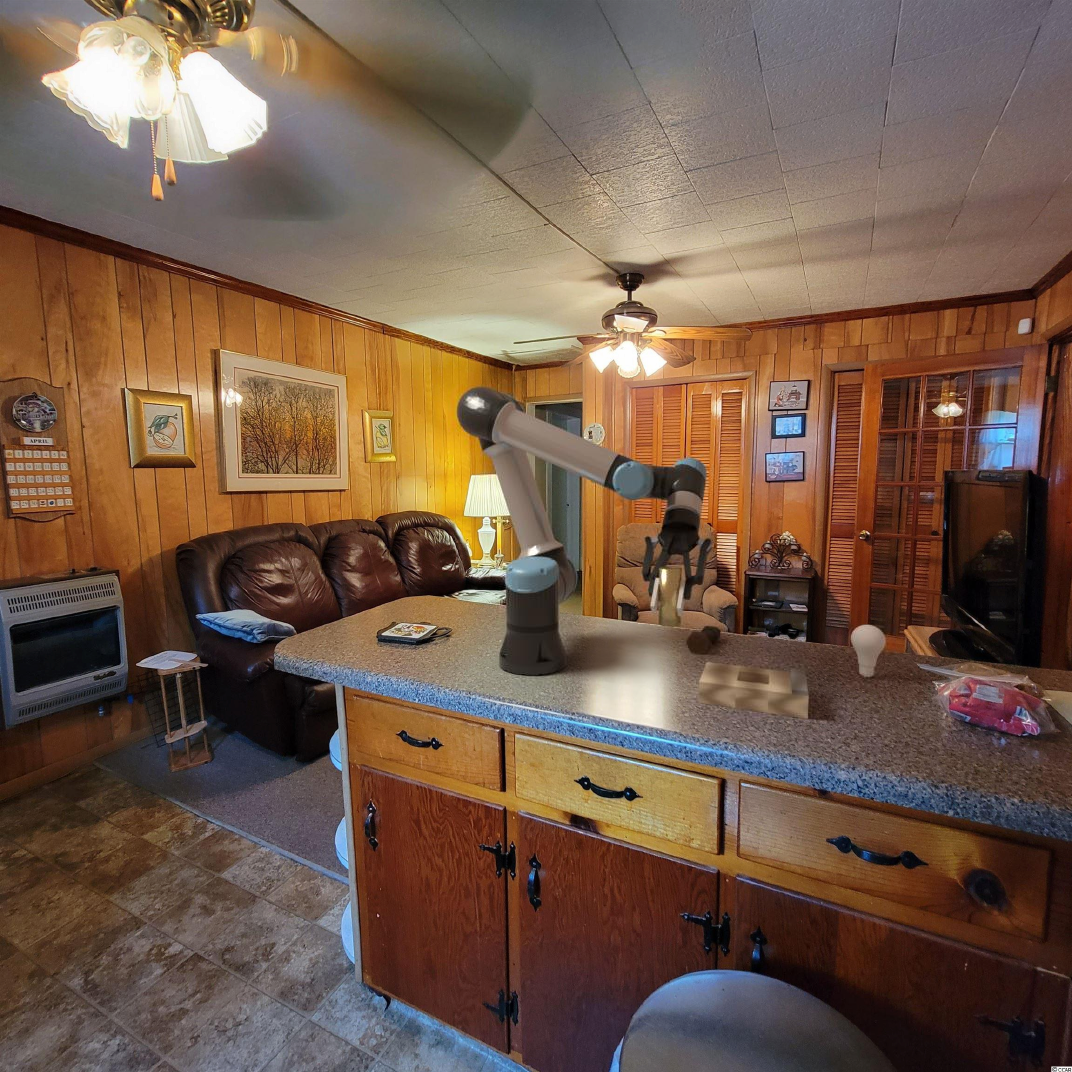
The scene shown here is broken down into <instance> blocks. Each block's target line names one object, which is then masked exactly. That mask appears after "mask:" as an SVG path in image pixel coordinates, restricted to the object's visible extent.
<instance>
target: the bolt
mask: <svg viewBox="0 0 1072 1072" xmlns="http://www.w3.org/2000/svg"><path fill="white" fill-rule="evenodd" d="M721 633H722V631H721V629H719V627H717V626H714V625H713V626H711V625H705V626H704V627H703V628H702V629H701V631H691V633H690V635H689V636H688V637H687V638H686V640H685V644H686V647H687V649H688V650H689V652H690V653H692V654H695V655H704V656H705V654H706V653H707V652H708V651H709V649H710V648H711V646H712V645H715V644H717V643H718V642H719V640H720V638H721Z"/></svg>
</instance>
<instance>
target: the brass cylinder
mask: <svg viewBox="0 0 1072 1072" xmlns="http://www.w3.org/2000/svg"><path fill="white" fill-rule="evenodd" d="M682 570H683V569H682V567H679V566H672V565H670V566H668V565H666V566H665V567H660V568H659V601H658V625H660V626H662V627H667V628H676V627H679V626H682V621H681V620H682V619H681V618H682V616H678V612H677V603H678V596H679V590H680V584H681V580H682V572H683V571H682Z"/></svg>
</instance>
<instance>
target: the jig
mask: <svg viewBox="0 0 1072 1072" xmlns="http://www.w3.org/2000/svg"><path fill="white" fill-rule="evenodd" d="M805 671H806V670H805V669H802V668H795V667H794V668H793V667H790V671H783V670H777V669H768V668H759V667H752V666H743V665H734V664H726V663H718V662H717V663H716V662H710V661H707V662H706V664H705V666H704V669H703V671H702V674H701V676H700V678H699V682H698V704H704V705H712V706H719V707H726V708H733V709H737V710H739V709H740V710H745V711H751V712H759V713H765V714H773V715H777V716H778V715H779V716H785V717H792V718H799V719H805V720H806V719H807V720H808V718H809V691H808V681H807V674H806V672H805Z"/></svg>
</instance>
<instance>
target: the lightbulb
mask: <svg viewBox="0 0 1072 1072" xmlns="http://www.w3.org/2000/svg"><path fill="white" fill-rule="evenodd" d="M850 641H851V644H852V646H853V649H854V650H855V652H856V656H857V663H858V665H859V666H858V669H859V670H858V672H859V674H860V675H861V676H862V677H863V676H864V677H863V678H866V677H869V678H870V677H873V676H874V674H875V667H876V666H877V660H878V658H879V655H880V654H881V652H883V650H884V648H885V646H886V643H887V642H886V636H885V634H884V632H883V631H882V630H881V629H880V628H878V627H877V626H874V625H871V624H862V625H859V626H857V627H855V628H854V630H853V631H852V633H851V635H850Z"/></svg>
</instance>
